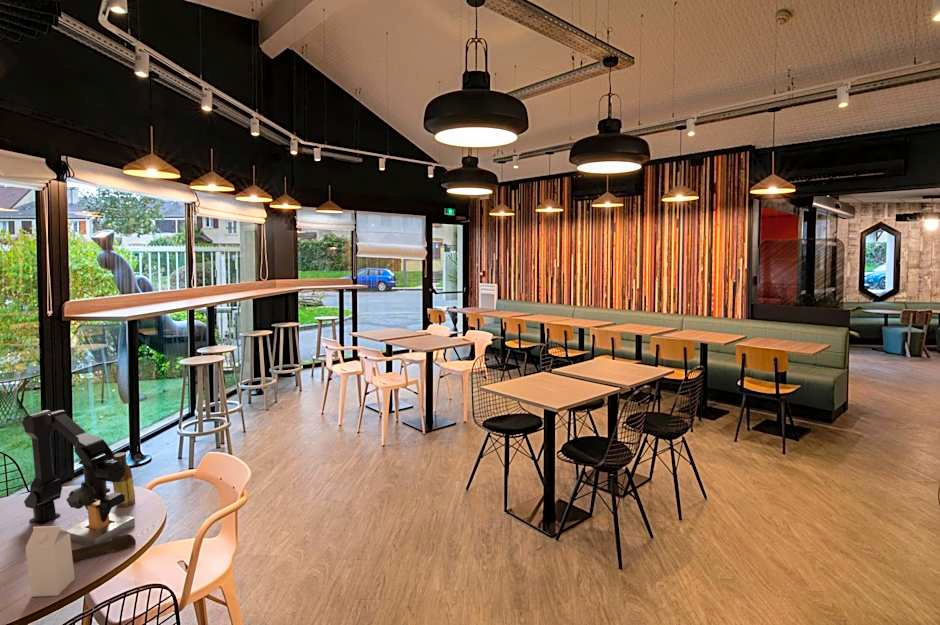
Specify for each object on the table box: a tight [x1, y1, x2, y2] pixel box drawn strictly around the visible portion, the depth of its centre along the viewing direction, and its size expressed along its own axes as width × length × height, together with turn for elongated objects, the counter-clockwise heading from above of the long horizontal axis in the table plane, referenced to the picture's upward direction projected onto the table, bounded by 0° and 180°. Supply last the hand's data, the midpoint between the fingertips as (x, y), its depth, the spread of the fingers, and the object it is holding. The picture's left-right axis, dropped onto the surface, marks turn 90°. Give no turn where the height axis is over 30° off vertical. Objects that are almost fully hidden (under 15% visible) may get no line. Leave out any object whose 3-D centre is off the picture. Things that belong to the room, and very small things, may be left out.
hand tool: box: [72, 533, 137, 562], centre depth 164 cm, size 19×4×5 cm, turn 119°
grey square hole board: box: [65, 511, 136, 547], centre depth 177 cm, size 14×14×3 cm
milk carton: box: [25, 525, 76, 598], centre depth 147 cm, size 7×7×19 cm
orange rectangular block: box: [87, 501, 110, 531], centre depth 176 cm, size 4×4×8 cm
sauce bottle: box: [112, 452, 136, 508], centre depth 194 cm, size 7×6×20 cm
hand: (99, 520), depth 176 cm, fingers closed on orange rectangular block, 4 cm apart
